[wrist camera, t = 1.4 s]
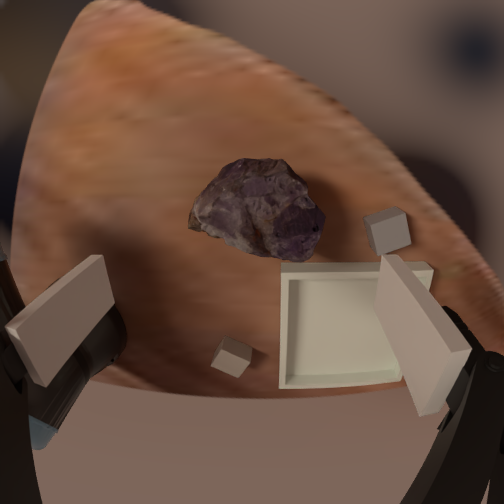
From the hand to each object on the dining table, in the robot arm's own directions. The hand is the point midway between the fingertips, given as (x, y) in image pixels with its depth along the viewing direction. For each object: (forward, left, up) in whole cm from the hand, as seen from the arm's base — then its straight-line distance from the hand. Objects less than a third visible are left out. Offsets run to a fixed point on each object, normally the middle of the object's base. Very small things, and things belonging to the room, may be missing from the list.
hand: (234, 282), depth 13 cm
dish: (+11, -16, -18) cm, 27 cm away
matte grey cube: (-4, -20, -19) cm, 28 cm away
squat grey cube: (+13, -3, -19) cm, 23 cm away
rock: (0, 0, -19) cm, 19 cm away
